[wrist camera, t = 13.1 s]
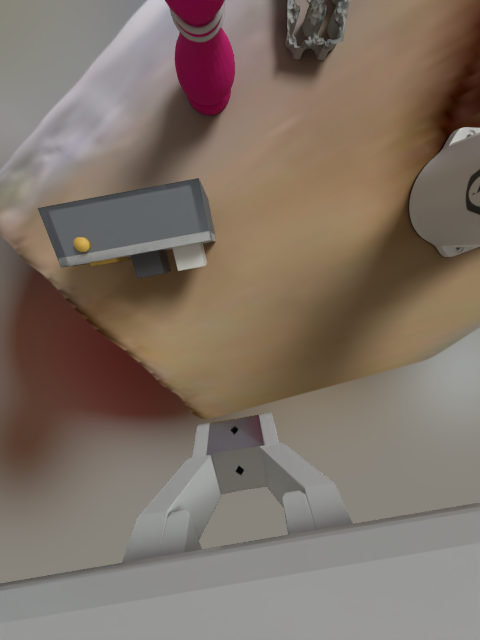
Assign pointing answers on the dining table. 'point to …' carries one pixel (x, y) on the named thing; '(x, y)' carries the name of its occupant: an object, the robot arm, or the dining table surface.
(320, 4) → the egg carton
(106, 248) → the console
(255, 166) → the dining table surface
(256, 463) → the robot arm
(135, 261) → the black button
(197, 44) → the pepper mill
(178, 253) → the white button
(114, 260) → the amber button
